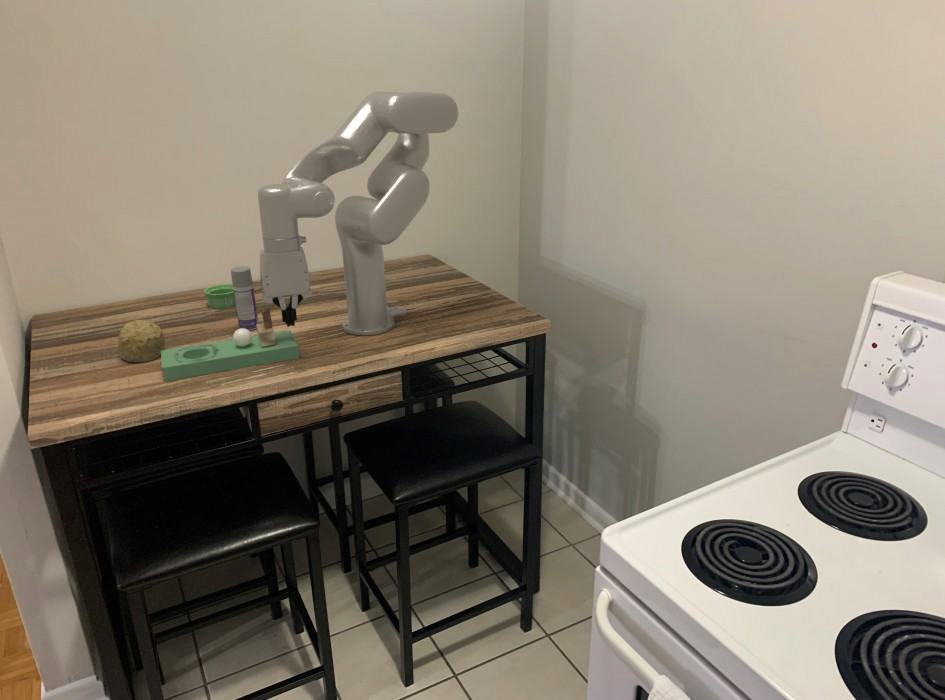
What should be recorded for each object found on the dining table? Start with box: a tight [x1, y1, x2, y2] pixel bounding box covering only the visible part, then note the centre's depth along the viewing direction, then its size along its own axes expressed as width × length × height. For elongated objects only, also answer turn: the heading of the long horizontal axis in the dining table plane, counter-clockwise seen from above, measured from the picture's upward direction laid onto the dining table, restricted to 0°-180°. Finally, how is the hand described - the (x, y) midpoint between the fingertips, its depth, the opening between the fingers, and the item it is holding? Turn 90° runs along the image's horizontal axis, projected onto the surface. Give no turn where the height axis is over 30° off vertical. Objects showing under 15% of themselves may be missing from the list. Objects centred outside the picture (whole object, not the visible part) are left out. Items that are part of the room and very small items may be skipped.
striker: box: [256, 307, 276, 347], centre depth 161 cm, size 3×6×7 cm, turn 23°
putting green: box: [160, 329, 300, 382], centre depth 161 cm, size 28×10×3 cm, turn 112°
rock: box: [117, 319, 166, 363], centre depth 164 cm, size 10×11×10 cm
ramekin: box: [204, 283, 236, 310], centre depth 195 cm, size 9×9×4 cm
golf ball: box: [232, 328, 253, 347], centre depth 160 cm, size 4×4×4 cm
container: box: [230, 265, 260, 332], centre depth 177 cm, size 5×5×15 cm
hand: (290, 324), depth 163 cm, fingers closed
